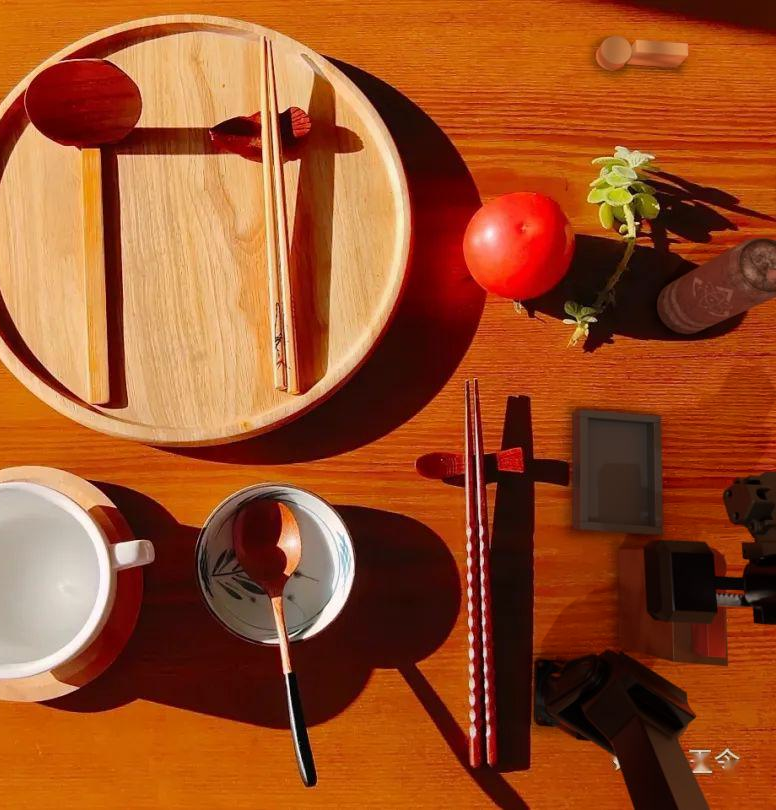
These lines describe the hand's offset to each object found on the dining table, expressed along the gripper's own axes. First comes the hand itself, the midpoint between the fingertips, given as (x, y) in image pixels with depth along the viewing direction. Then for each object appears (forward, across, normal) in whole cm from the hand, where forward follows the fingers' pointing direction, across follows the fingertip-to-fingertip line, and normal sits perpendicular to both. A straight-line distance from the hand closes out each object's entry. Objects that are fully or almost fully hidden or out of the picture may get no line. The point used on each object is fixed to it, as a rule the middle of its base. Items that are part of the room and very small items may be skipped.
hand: (705, 580), depth 68 cm
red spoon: (+3, -1, +2) cm, 4 cm away
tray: (+13, +1, -11) cm, 17 cm away
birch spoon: (+12, -3, -60) cm, 61 cm away
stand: (+13, -1, +2) cm, 13 cm away
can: (+13, -7, -30) cm, 33 cm away
